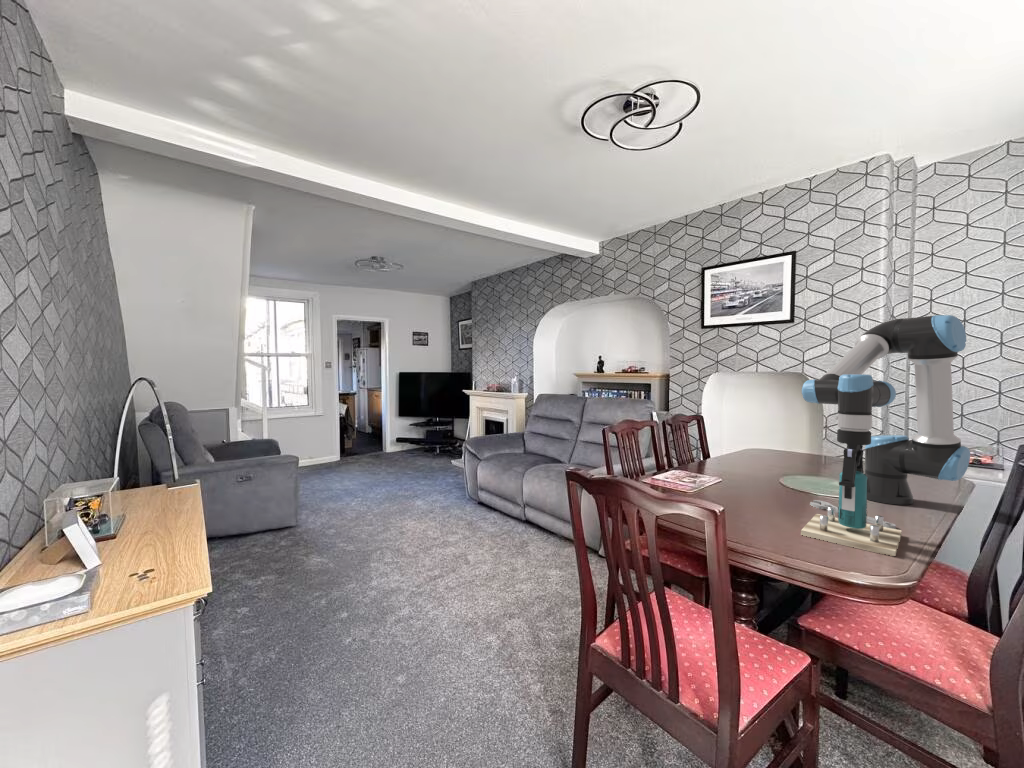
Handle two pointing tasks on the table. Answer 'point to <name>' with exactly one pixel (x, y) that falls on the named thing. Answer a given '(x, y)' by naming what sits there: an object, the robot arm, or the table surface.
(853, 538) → the birch board
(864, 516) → the beverage bottle
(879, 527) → the steel pegs
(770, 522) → the table surface
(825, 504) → the adjustable wrench
